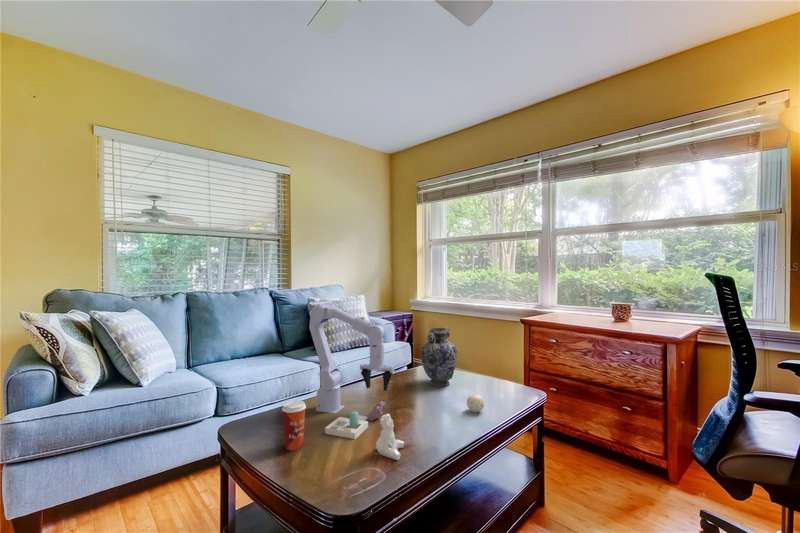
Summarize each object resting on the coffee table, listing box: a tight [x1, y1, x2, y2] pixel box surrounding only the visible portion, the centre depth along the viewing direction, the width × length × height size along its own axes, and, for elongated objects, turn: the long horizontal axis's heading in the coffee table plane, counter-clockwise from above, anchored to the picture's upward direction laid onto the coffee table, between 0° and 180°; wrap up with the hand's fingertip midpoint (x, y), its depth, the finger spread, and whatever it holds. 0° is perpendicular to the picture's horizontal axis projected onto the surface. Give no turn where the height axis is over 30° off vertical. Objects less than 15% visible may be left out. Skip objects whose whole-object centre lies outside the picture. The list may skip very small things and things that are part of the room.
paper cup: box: [281, 399, 307, 451], centre depth 116 cm, size 8×8×14 cm
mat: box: [358, 414, 368, 421], centre depth 136 cm, size 7×7×1 cm
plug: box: [348, 410, 359, 429], centre depth 126 cm, size 3×3×7 cm
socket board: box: [324, 416, 369, 440], centre depth 127 cm, size 12×10×3 cm
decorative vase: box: [420, 327, 458, 388], centre depth 180 cm, size 21×19×28 cm
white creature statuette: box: [375, 413, 405, 461], centre depth 112 cm, size 10×9×12 cm
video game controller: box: [366, 400, 387, 422], centre depth 139 cm, size 10×5×7 cm, turn 168°
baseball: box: [466, 394, 485, 413], centre depth 143 cm, size 7×7×7 cm
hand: (376, 388), depth 142 cm, fingers open, 7 cm apart
